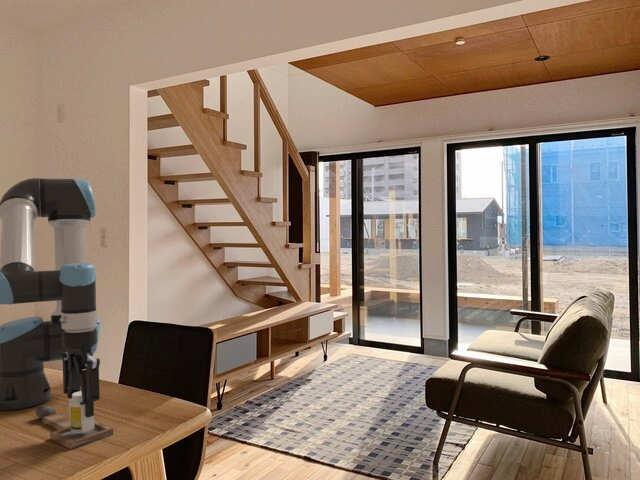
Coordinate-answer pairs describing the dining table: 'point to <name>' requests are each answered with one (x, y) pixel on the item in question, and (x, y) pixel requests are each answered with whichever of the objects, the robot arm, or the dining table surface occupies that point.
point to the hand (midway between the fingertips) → (81, 426)
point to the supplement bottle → (76, 412)
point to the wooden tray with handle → (64, 429)
